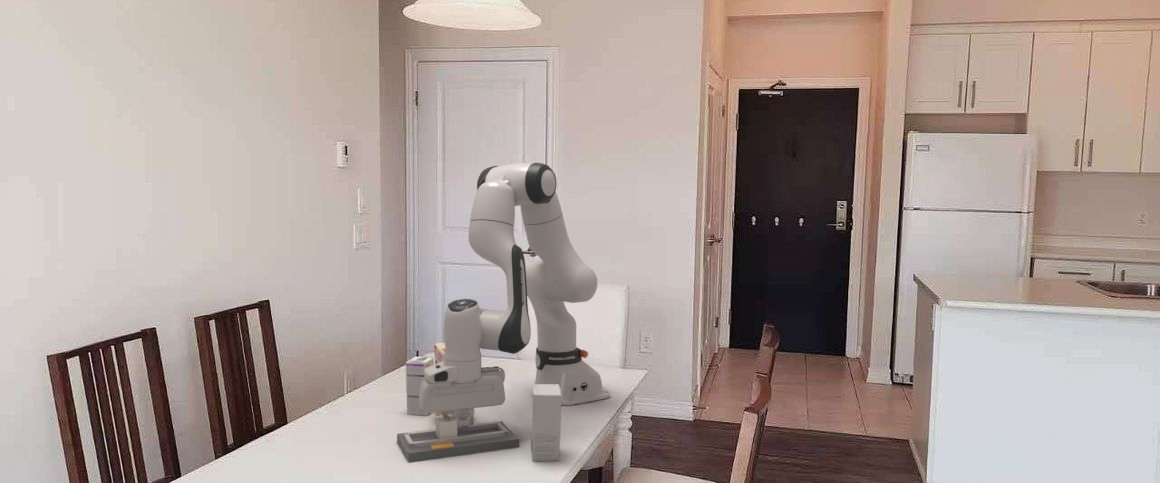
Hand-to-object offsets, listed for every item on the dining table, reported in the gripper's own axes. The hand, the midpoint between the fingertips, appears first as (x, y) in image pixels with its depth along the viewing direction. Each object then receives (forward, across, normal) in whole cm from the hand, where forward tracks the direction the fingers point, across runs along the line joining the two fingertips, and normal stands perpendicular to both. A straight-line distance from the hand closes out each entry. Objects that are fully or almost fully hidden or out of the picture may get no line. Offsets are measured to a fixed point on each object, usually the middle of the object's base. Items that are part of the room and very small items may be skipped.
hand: (462, 426), depth 187 cm
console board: (+4, +1, 0) cm, 4 cm away
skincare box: (+4, -16, +14) cm, 21 cm away
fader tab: (+2, +4, 0) cm, 4 cm away
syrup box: (+4, +4, -28) cm, 29 cm away
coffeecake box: (+4, -2, -16) cm, 17 cm away
